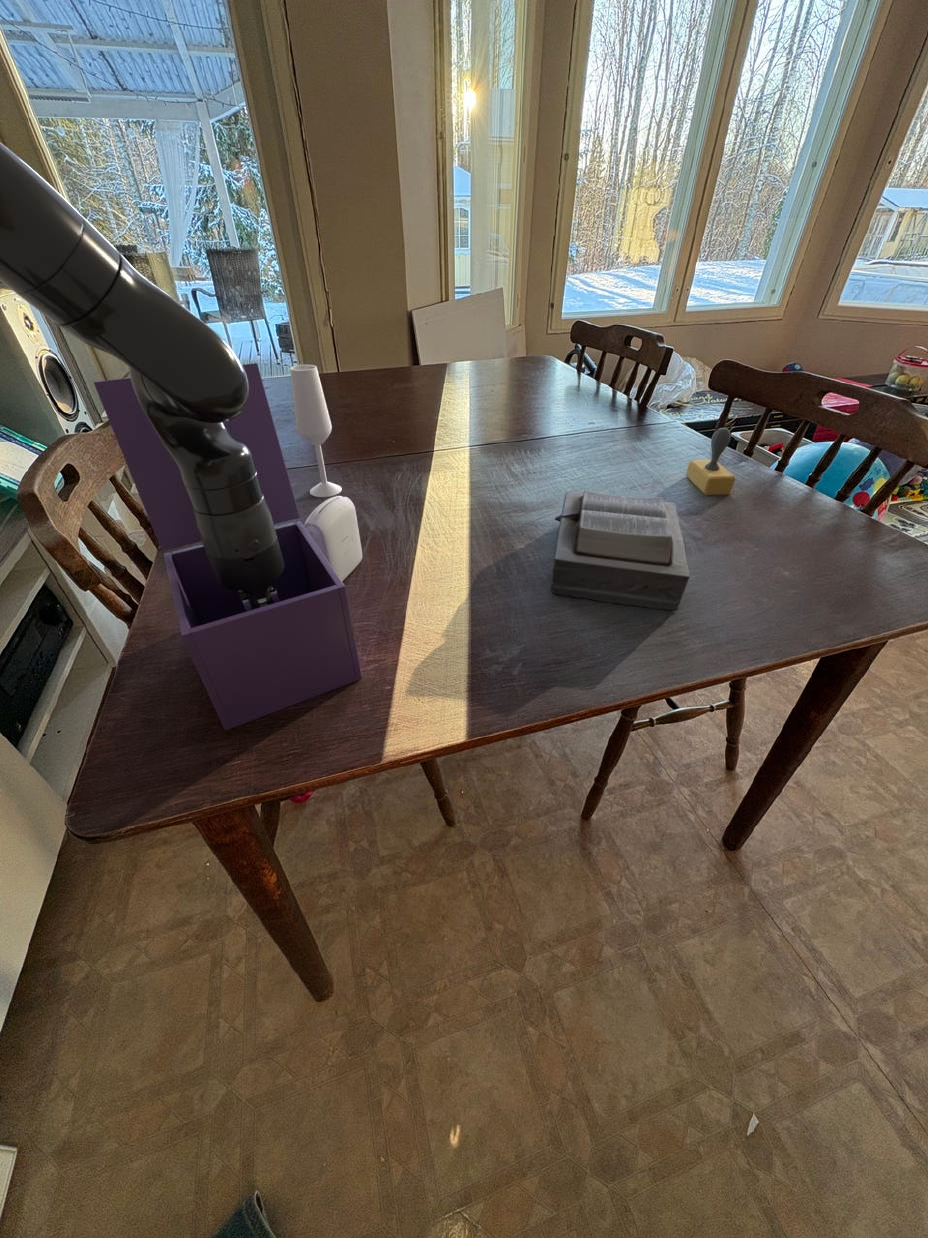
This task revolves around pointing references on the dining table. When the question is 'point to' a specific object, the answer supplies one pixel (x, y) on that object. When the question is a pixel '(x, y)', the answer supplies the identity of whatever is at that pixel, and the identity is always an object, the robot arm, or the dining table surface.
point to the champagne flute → (312, 419)
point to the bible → (620, 550)
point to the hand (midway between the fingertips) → (276, 652)
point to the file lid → (161, 473)
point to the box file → (266, 631)
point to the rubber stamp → (712, 468)
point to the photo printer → (336, 534)
